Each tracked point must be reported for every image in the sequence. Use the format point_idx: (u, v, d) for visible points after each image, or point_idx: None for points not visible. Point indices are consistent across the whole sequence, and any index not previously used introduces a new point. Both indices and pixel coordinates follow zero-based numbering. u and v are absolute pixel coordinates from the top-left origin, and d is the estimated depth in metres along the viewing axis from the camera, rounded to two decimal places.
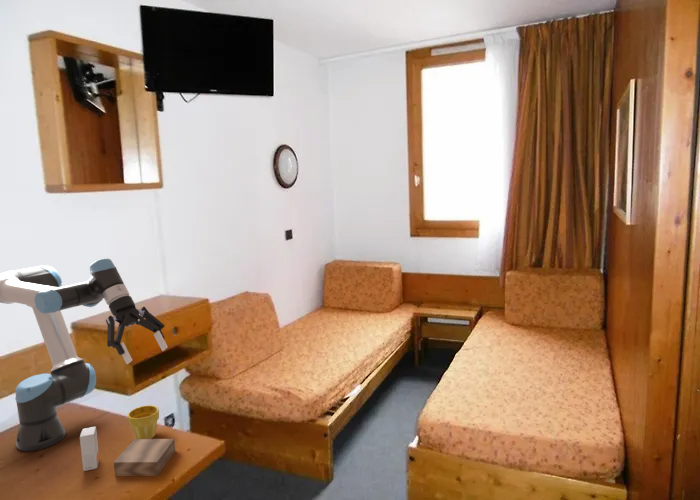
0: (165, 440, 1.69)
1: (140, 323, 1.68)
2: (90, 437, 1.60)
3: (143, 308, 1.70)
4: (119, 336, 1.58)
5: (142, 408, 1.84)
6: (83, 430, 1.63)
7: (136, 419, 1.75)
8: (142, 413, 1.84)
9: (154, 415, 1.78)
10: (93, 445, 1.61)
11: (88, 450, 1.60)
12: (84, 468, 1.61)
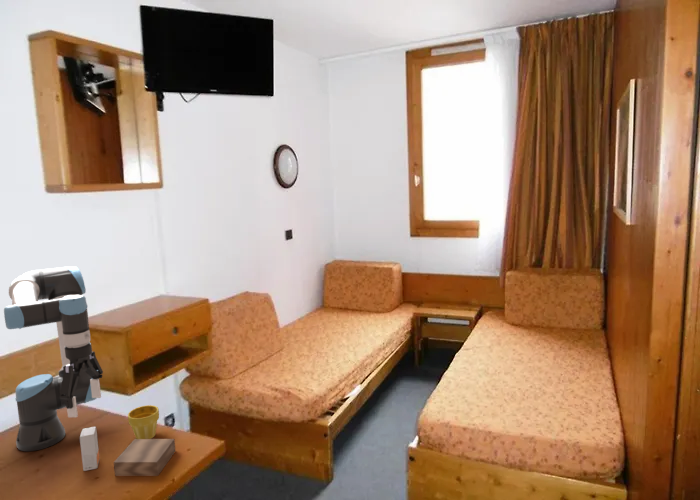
0: (165, 440, 1.69)
1: None
2: (90, 437, 1.60)
3: (93, 353, 1.65)
4: (73, 389, 1.53)
5: (142, 408, 1.84)
6: (83, 430, 1.63)
7: (136, 419, 1.75)
8: (142, 413, 1.84)
9: (154, 415, 1.78)
10: (93, 445, 1.61)
11: (88, 450, 1.60)
12: (84, 468, 1.61)
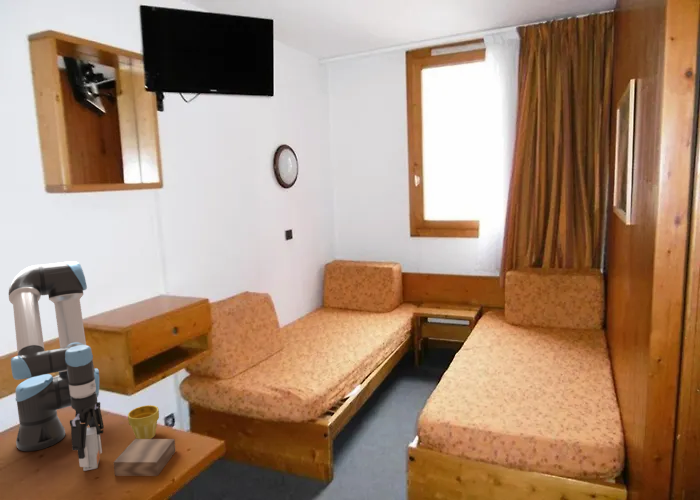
0: (165, 440, 1.69)
1: (89, 420, 1.64)
2: (90, 437, 1.60)
3: (98, 404, 1.67)
4: (84, 440, 1.58)
5: (142, 408, 1.84)
6: None
7: (136, 419, 1.75)
8: (142, 413, 1.84)
9: (154, 415, 1.78)
10: (93, 445, 1.61)
11: (88, 450, 1.60)
12: (84, 468, 1.61)
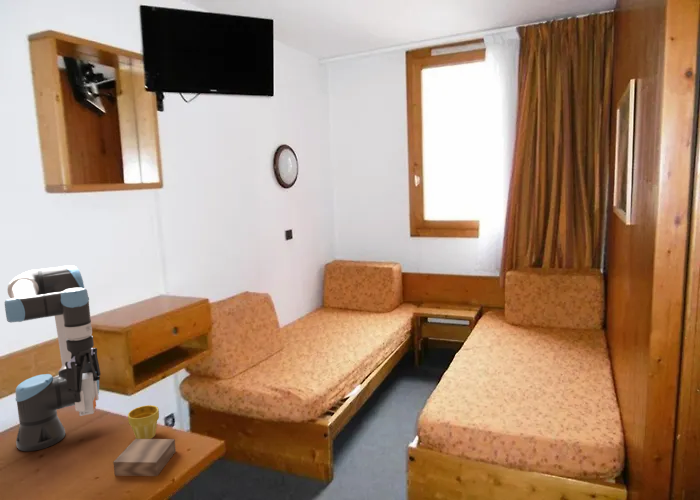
0: (165, 440, 1.69)
1: (85, 365, 1.61)
2: (86, 381, 1.57)
3: (95, 349, 1.64)
4: (80, 383, 1.55)
5: (142, 408, 1.84)
6: None
7: (136, 419, 1.75)
8: (142, 413, 1.84)
9: (154, 415, 1.78)
10: (89, 390, 1.58)
11: (84, 395, 1.57)
12: (80, 413, 1.58)
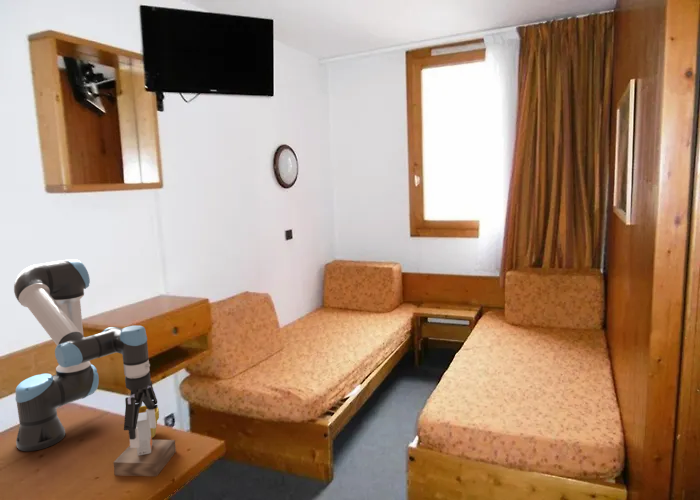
0: (166, 441, 1.69)
1: (143, 399, 1.64)
2: (143, 422, 1.59)
3: (150, 383, 1.66)
4: (136, 420, 1.56)
5: (142, 408, 1.84)
6: None
7: None
8: None
9: None
10: (146, 430, 1.60)
11: (141, 436, 1.60)
12: (138, 453, 1.60)
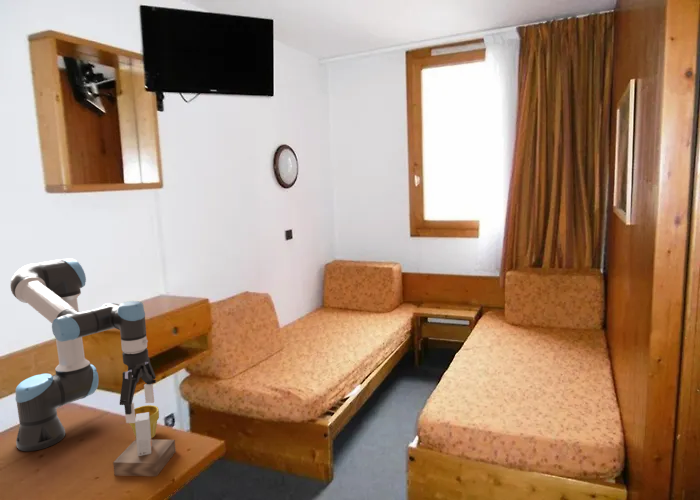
0: (165, 441, 1.69)
1: None
2: (145, 422, 1.60)
3: (148, 359, 1.65)
4: (132, 395, 1.54)
5: (142, 408, 1.84)
6: (137, 415, 1.62)
7: None
8: None
9: (154, 415, 1.78)
10: (148, 430, 1.60)
11: (143, 436, 1.60)
12: (138, 453, 1.60)
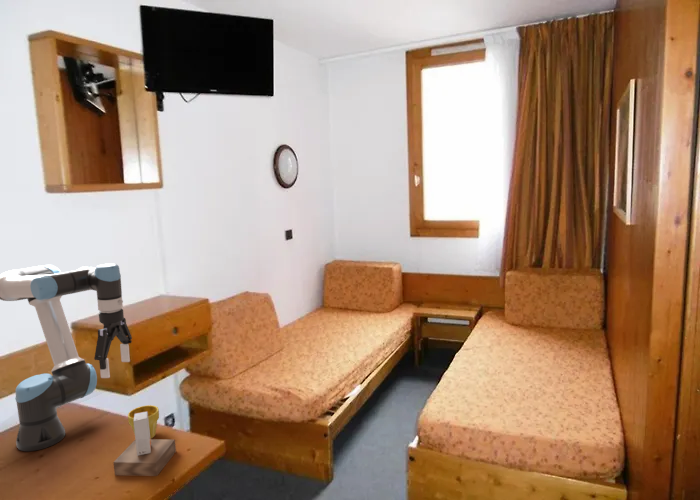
0: (166, 441, 1.69)
1: None
2: (143, 421, 1.60)
3: (124, 319, 1.74)
4: (107, 352, 1.63)
5: (142, 408, 1.84)
6: (135, 415, 1.63)
7: None
8: None
9: (154, 415, 1.78)
10: (146, 429, 1.60)
11: (141, 435, 1.60)
12: (138, 453, 1.60)
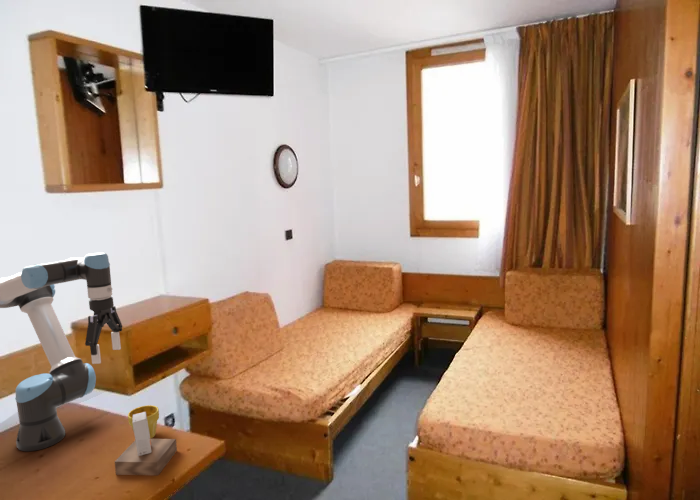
0: (167, 440, 1.70)
1: (107, 322, 1.77)
2: (142, 422, 1.59)
3: (114, 308, 1.79)
4: (97, 338, 1.67)
5: (142, 408, 1.84)
6: (134, 416, 1.62)
7: None
8: None
9: (154, 415, 1.78)
10: (146, 430, 1.60)
11: (141, 435, 1.60)
12: (139, 453, 1.60)
